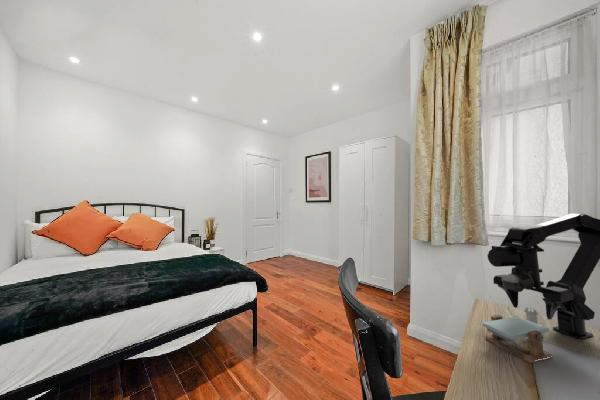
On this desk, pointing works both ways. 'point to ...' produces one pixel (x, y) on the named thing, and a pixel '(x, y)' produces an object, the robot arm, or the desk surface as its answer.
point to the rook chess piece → (531, 315)
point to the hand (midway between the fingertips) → (531, 312)
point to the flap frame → (534, 344)
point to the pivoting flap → (513, 327)
